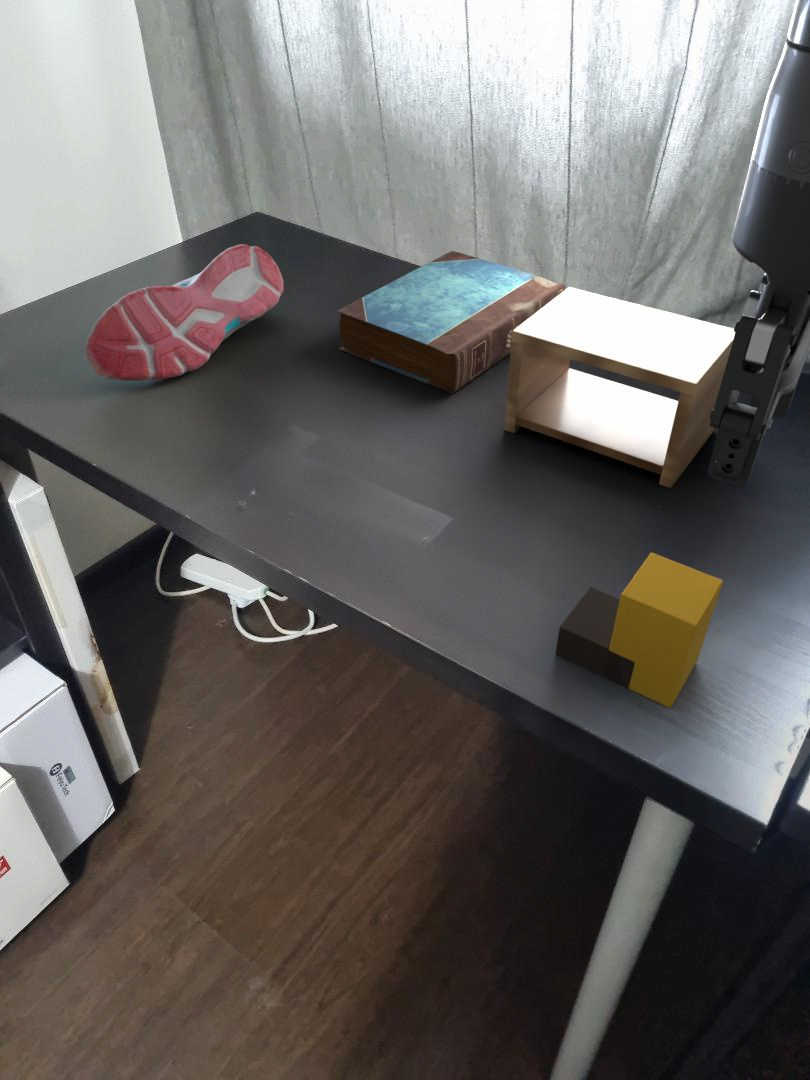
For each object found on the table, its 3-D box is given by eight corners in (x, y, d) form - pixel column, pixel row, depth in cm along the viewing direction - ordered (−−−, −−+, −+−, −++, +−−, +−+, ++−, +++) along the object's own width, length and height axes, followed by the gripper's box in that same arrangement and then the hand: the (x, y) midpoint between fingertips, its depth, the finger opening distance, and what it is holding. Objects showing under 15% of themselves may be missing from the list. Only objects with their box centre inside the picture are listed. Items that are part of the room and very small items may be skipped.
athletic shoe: (266, 306, 111) (203, 232, 107) (300, 281, 104) (233, 201, 99) (133, 435, 99) (55, 357, 94) (160, 417, 91) (77, 332, 87)
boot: (696, 662, 62) (723, 580, 56) (670, 709, 58) (696, 626, 53) (585, 613, 66) (600, 531, 60) (555, 654, 62) (568, 571, 57)
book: (455, 395, 91) (456, 354, 88) (337, 349, 100) (334, 310, 96) (561, 321, 105) (566, 283, 101) (449, 285, 113) (450, 249, 110)
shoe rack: (714, 430, 85) (741, 330, 78) (670, 488, 78) (696, 384, 71) (557, 381, 93) (568, 286, 86) (504, 430, 86) (512, 330, 78)
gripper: (899, 216, 33) (782, 530, 43) (947, 129, 42) (840, 407, 52) (710, 184, 36) (644, 484, 46) (793, 110, 45) (722, 376, 55)
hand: (748, 443), depth 49 cm, fingers open, 8 cm apart
